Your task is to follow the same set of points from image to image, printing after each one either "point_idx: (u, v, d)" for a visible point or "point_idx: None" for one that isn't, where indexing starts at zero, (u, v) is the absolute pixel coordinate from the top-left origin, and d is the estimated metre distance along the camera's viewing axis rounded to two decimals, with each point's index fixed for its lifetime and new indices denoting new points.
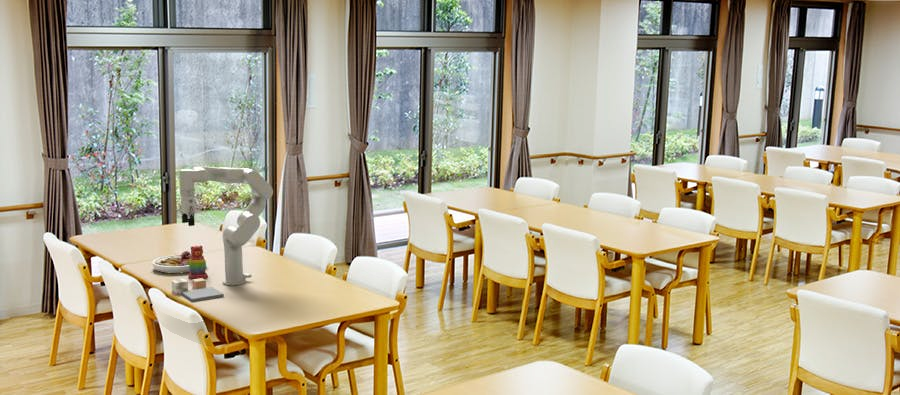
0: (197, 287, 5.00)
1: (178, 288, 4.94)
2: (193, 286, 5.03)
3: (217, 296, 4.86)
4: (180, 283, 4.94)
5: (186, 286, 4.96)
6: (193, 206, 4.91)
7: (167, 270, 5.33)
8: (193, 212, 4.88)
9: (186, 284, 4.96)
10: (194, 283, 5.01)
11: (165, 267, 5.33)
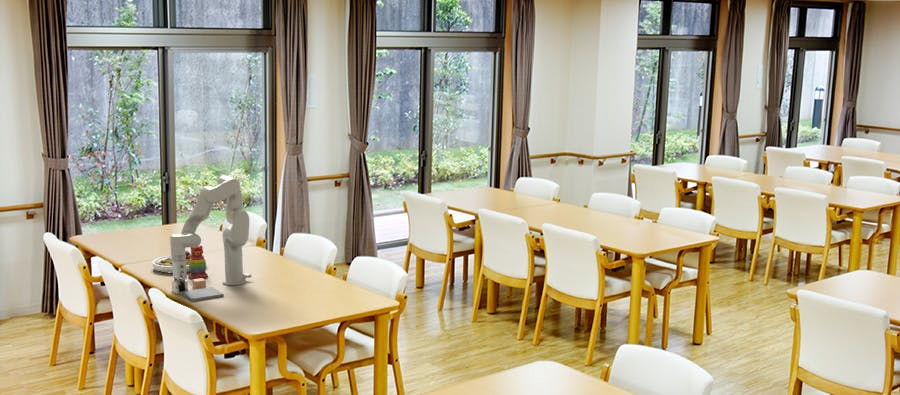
0: (197, 287, 5.00)
1: (178, 288, 4.94)
2: (193, 286, 5.03)
3: (217, 296, 4.86)
4: None
5: (186, 286, 4.96)
6: (184, 271, 4.92)
7: (167, 270, 5.33)
8: (184, 280, 4.90)
9: (186, 284, 4.96)
10: (194, 283, 5.01)
11: (165, 267, 5.33)
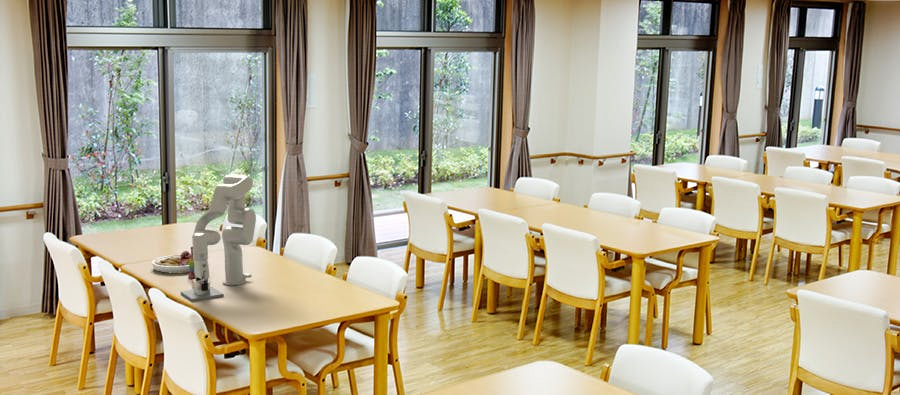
0: None
1: (200, 289, 4.86)
2: (193, 286, 5.03)
3: (217, 296, 4.86)
4: None
5: (208, 287, 4.88)
6: (207, 270, 4.85)
7: (167, 270, 5.33)
8: (207, 278, 4.82)
9: (208, 285, 4.88)
10: None
11: (165, 267, 5.33)
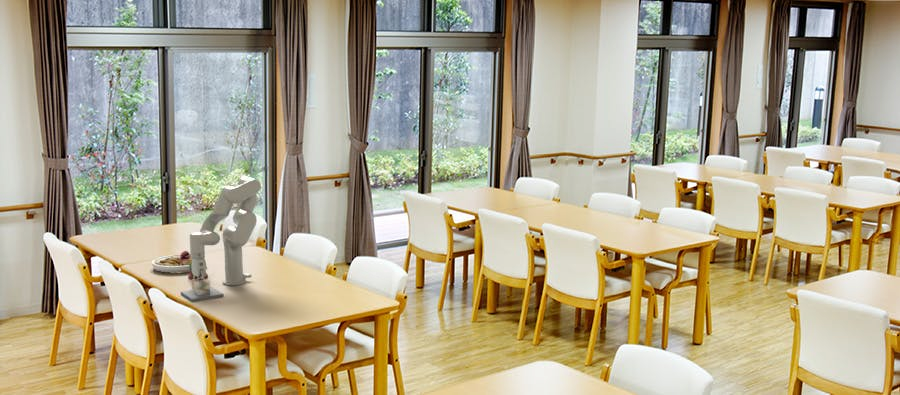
0: None
1: (200, 289, 4.86)
2: (193, 286, 5.03)
3: (217, 296, 4.86)
4: (202, 284, 4.86)
5: (208, 287, 4.88)
6: (203, 269, 4.98)
7: (167, 270, 5.33)
8: (203, 278, 4.96)
9: (208, 285, 4.88)
10: None
11: (165, 267, 5.33)
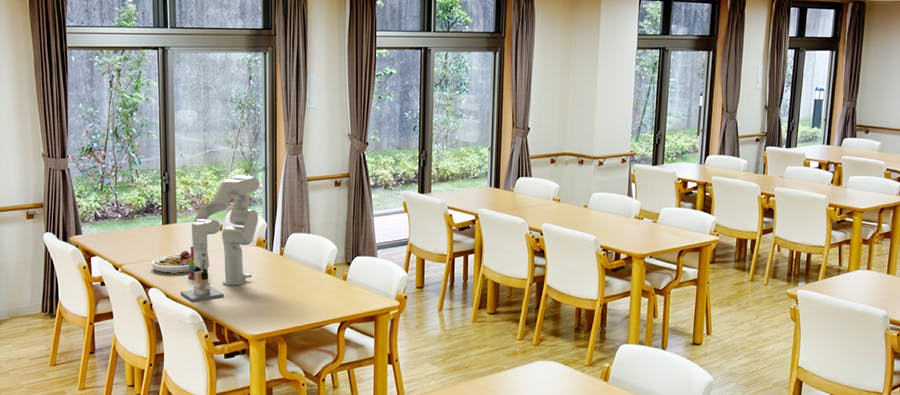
0: (199, 280, 4.86)
1: (200, 289, 4.86)
2: (195, 279, 4.88)
3: (217, 296, 4.86)
4: (202, 284, 4.86)
5: (208, 287, 4.88)
6: (206, 260, 4.84)
7: (167, 270, 5.33)
8: (206, 266, 4.81)
9: (208, 285, 4.88)
10: (196, 276, 4.86)
11: (165, 267, 5.33)
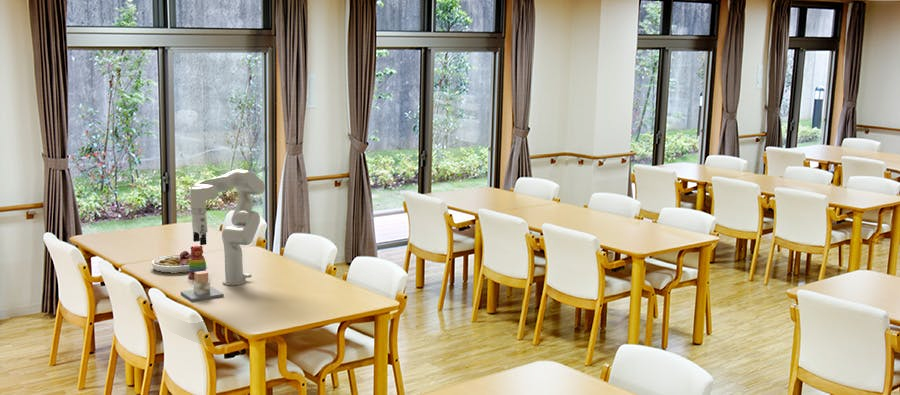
0: (199, 280, 4.86)
1: (200, 289, 4.86)
2: (195, 279, 4.88)
3: (217, 296, 4.86)
4: (202, 284, 4.86)
5: (208, 287, 4.88)
6: (205, 225, 4.80)
7: (167, 270, 5.33)
8: (205, 231, 4.77)
9: (208, 285, 4.88)
10: (196, 276, 4.86)
11: (165, 267, 5.33)
